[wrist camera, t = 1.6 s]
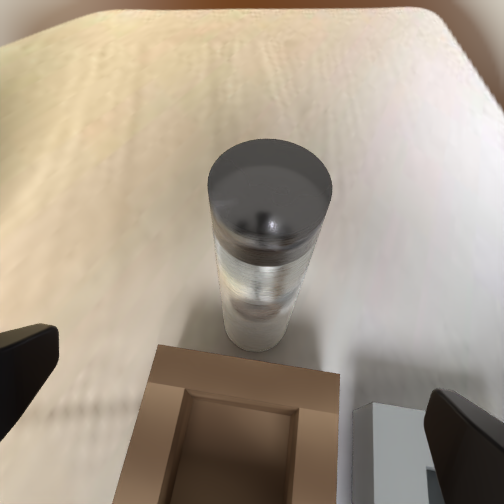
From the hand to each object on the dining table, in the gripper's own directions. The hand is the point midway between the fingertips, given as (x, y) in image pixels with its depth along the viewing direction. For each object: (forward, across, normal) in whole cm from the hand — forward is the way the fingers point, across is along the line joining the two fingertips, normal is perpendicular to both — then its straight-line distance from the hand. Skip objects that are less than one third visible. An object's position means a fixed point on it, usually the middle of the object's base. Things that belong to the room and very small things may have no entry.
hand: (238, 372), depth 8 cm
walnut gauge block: (+8, 0, +11) cm, 13 cm away
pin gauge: (+13, 0, +5) cm, 14 cm away
